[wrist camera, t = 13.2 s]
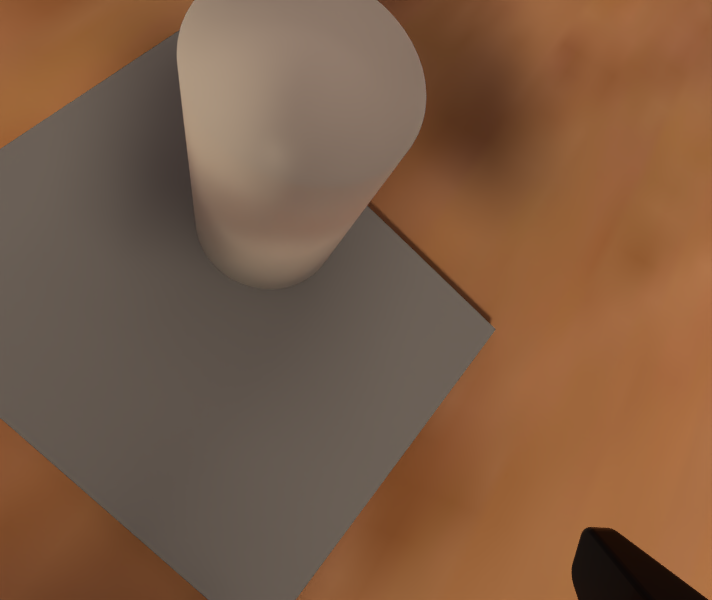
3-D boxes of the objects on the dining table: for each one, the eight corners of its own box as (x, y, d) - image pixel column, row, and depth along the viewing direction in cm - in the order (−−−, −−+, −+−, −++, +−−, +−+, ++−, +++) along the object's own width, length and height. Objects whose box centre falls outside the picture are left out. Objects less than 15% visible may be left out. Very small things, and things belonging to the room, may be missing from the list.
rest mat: (259, 638, 18) (261, 646, 17) (-162, 270, 17) (-175, 264, 16) (488, 331, 23) (495, 329, 23) (183, 37, 22) (182, 28, 22)
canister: (353, 268, 21) (459, 160, 12) (220, 306, 19) (224, 213, 10) (309, 147, 22) (378, -44, 13) (176, 173, 20) (142, -30, 11)
